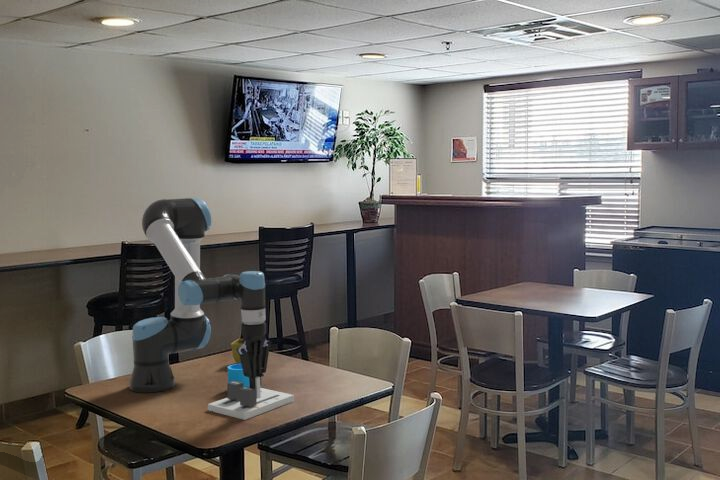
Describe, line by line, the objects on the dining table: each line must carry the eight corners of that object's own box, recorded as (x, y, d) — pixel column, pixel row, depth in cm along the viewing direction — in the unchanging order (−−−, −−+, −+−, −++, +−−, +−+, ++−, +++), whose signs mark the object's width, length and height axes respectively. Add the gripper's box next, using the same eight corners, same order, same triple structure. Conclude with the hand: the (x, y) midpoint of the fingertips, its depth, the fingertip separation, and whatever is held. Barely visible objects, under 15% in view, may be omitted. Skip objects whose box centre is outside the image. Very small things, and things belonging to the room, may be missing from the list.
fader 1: (227, 398, 234) (227, 382, 233) (234, 396, 236) (234, 380, 236) (236, 400, 231) (236, 384, 231) (243, 398, 234) (243, 382, 233)
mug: (235, 395, 246) (234, 371, 245) (223, 390, 252) (223, 366, 251) (266, 388, 253) (266, 364, 252) (254, 383, 259) (254, 360, 259)
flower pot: (231, 366, 282) (230, 343, 282) (238, 361, 291) (238, 338, 290) (253, 367, 281) (252, 344, 280) (260, 361, 290) (259, 338, 289)
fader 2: (240, 405, 227) (239, 388, 227) (247, 402, 230) (246, 386, 229) (249, 407, 225) (249, 390, 224) (256, 404, 227) (256, 388, 227)
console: (208, 410, 230) (207, 403, 230) (258, 393, 248) (258, 386, 247) (244, 419, 220) (244, 412, 220) (294, 401, 238) (294, 394, 238)
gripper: (247, 327, 220) (249, 405, 222) (277, 319, 230) (279, 394, 233) (229, 324, 225) (231, 400, 227) (259, 317, 235) (261, 390, 237)
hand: (255, 397), depth 230 cm, fingers closed
